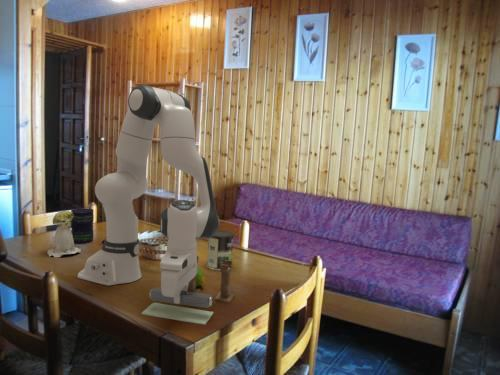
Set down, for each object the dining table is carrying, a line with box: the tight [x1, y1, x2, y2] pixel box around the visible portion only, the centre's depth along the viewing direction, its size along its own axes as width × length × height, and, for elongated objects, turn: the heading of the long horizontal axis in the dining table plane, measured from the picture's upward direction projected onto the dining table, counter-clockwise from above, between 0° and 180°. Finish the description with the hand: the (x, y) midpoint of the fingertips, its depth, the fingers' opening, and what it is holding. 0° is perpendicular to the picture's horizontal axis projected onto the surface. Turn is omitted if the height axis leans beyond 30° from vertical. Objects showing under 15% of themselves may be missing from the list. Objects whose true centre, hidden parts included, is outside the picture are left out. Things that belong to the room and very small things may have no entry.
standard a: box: [187, 255, 202, 293], centre depth 139 cm, size 5×6×12 cm
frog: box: [47, 210, 82, 258], centre depth 172 cm, size 12×13×18 cm
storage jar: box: [70, 207, 94, 245], centre depth 191 cm, size 10×10×15 cm
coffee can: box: [206, 230, 235, 271], centre depth 167 cm, size 10×10×14 cm
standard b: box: [214, 259, 235, 304], centre depth 136 cm, size 5×6×12 cm
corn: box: [196, 266, 206, 288], centre depth 149 cm, size 7×8×20 cm
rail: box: [148, 286, 214, 309], centre depth 123 cm, size 19×3×3 cm, turn 78°
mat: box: [141, 302, 214, 325], centre depth 123 cm, size 20×8×1 cm, turn 77°
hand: (180, 299), depth 123 cm, fingers closed on rail, 3 cm apart
